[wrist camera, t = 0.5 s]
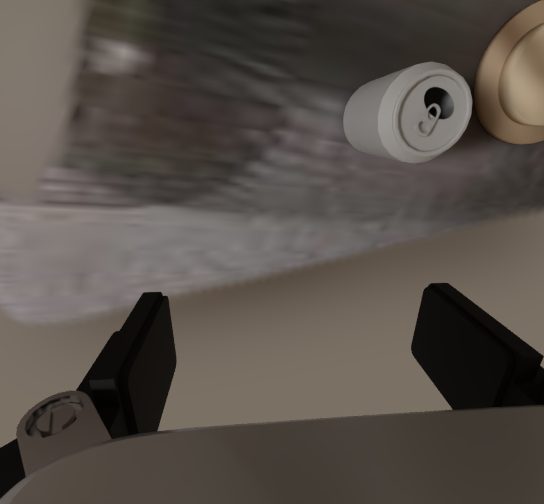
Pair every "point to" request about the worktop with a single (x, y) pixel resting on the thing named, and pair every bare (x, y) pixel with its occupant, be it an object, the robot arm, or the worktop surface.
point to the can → (409, 113)
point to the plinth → (513, 80)
